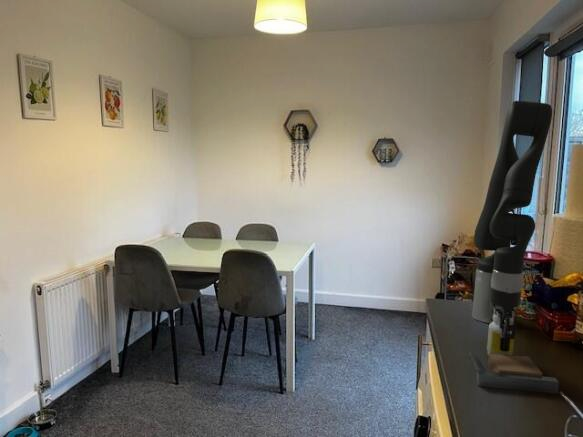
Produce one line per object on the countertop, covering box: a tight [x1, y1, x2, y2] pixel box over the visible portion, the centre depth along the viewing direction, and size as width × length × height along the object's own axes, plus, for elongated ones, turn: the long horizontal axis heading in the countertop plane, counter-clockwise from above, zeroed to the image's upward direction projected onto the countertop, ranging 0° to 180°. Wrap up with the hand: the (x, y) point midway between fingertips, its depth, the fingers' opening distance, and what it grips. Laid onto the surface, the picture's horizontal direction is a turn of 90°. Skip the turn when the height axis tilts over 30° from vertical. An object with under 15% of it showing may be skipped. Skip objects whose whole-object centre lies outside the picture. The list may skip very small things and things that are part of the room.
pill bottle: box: [486, 314, 515, 356], centre depth 121 cm, size 6×6×12 cm
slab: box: [487, 354, 544, 377], centre depth 113 cm, size 9×10×4 cm
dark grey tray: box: [469, 351, 560, 394], centre depth 114 cm, size 16×18×3 cm
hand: (500, 344), depth 121 cm, fingers closed on pill bottle, 6 cm apart
